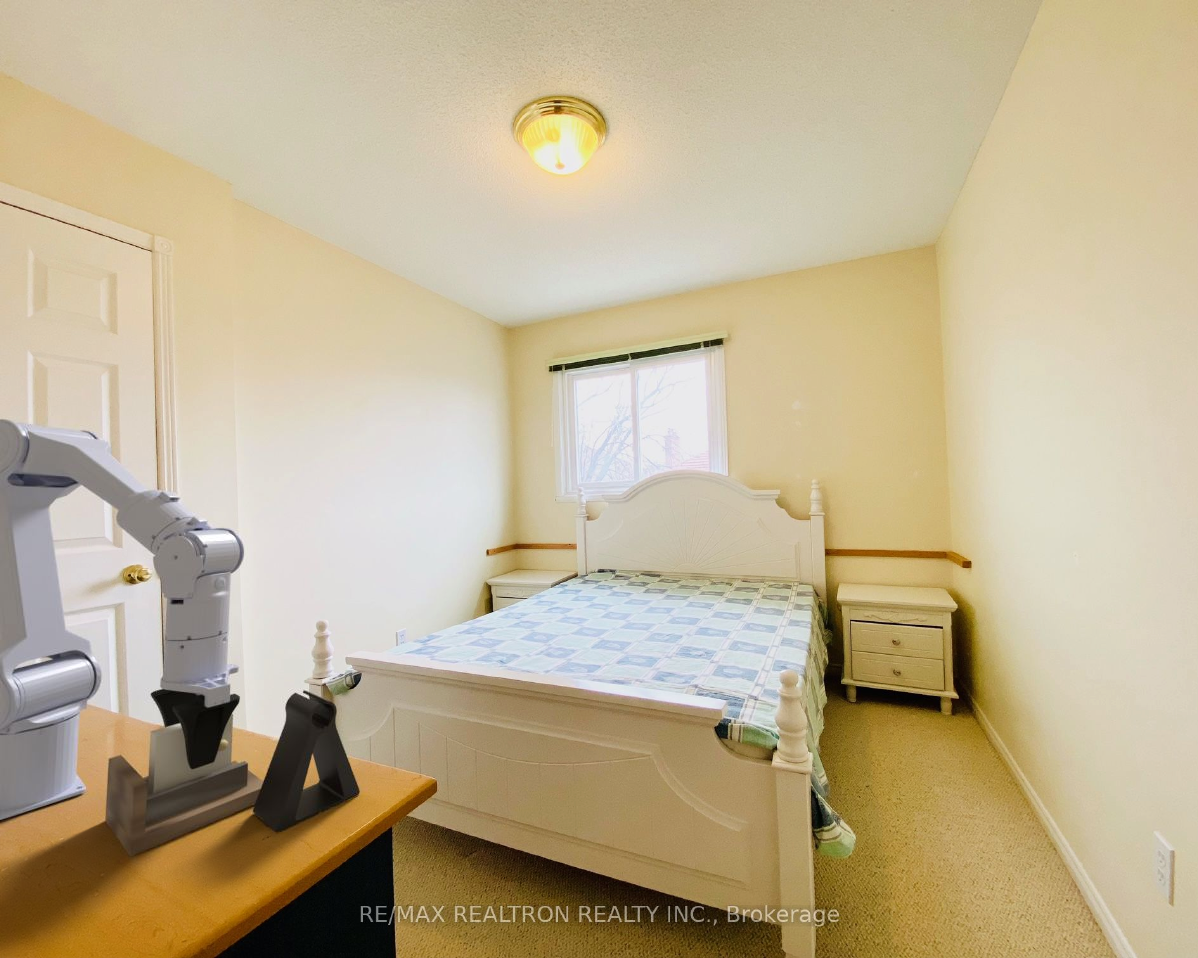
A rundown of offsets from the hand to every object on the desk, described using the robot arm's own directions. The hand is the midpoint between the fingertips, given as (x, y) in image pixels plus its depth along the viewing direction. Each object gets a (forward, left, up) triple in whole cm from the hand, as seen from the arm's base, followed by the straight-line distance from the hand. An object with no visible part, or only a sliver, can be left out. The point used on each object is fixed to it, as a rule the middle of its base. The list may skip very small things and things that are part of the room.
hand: (192, 756), depth 57 cm
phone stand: (+10, +8, -6) cm, 14 cm away
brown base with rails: (0, 0, -6) cm, 6 cm away
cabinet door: (0, 0, -4) cm, 4 cm away
